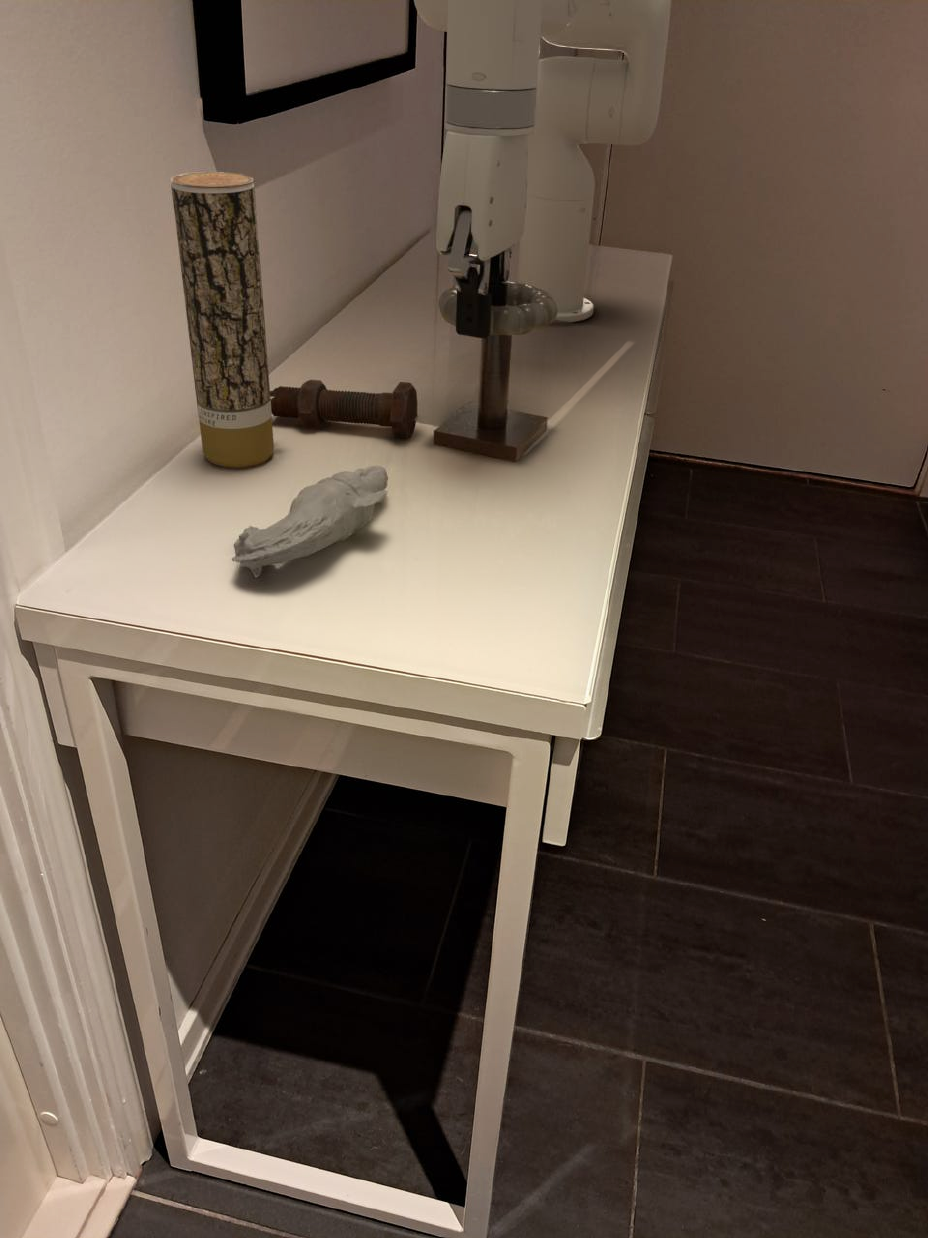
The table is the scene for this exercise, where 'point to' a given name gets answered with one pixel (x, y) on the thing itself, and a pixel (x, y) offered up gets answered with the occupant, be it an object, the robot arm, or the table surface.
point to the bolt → (348, 406)
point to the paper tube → (225, 314)
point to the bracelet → (510, 310)
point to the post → (492, 411)
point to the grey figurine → (315, 519)
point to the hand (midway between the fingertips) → (480, 328)
